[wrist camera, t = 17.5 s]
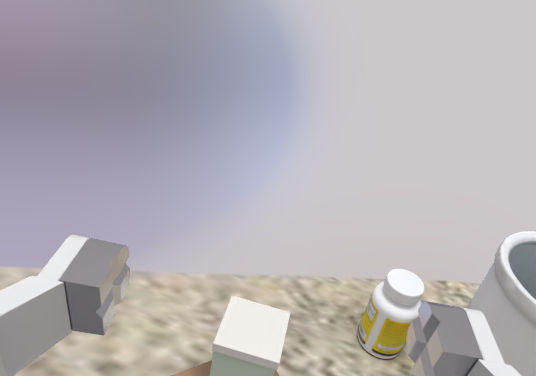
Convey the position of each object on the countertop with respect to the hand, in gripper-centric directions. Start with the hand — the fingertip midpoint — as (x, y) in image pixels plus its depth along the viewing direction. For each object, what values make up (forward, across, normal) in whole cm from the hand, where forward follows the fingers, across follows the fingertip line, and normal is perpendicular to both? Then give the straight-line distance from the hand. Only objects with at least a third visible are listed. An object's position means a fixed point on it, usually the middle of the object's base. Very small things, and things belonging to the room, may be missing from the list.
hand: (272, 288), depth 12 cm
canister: (+12, 0, +28) cm, 30 cm away
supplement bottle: (+25, -16, +32) cm, 43 cm away
